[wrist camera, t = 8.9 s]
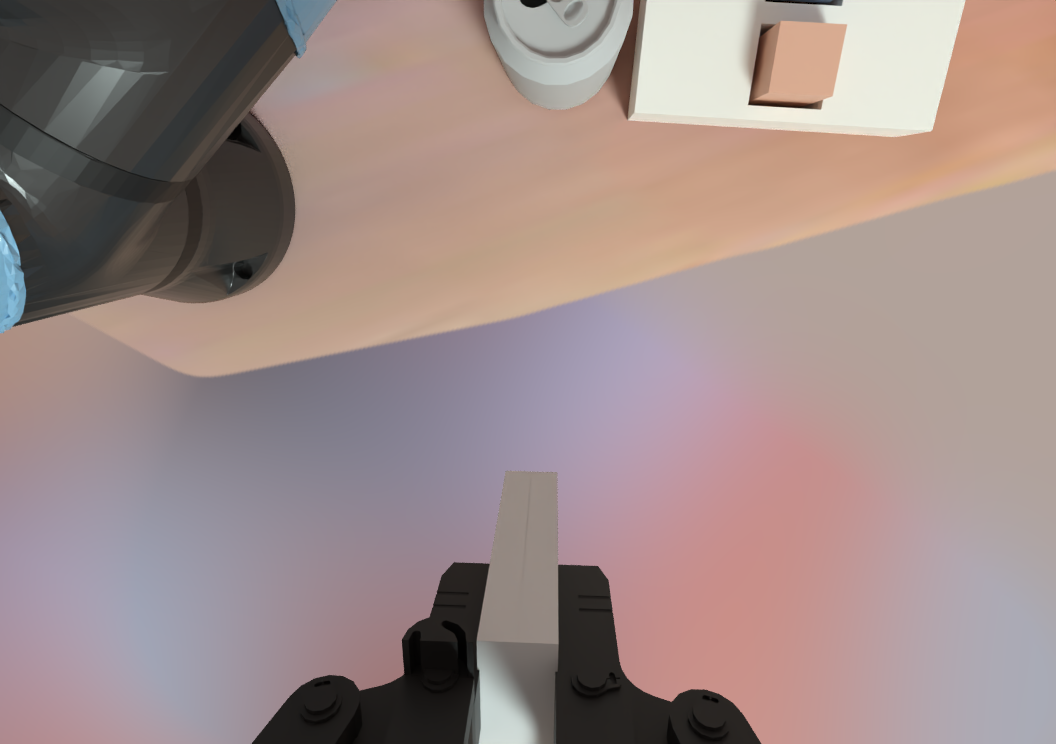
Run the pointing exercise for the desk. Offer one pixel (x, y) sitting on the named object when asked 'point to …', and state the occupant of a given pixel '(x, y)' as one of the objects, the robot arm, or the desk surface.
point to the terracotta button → (796, 64)
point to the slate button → (819, 0)
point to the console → (730, 52)
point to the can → (558, 46)
